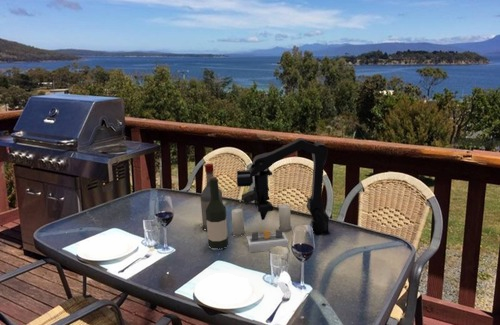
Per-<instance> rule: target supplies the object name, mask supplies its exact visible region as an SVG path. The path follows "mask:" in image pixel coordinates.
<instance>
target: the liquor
mask: <svg viewBox="0 0 500 325" xmlns="http://www.w3.org/2000/svg"><path fill="white" fill-rule="evenodd" d="M204 171H205V174H206V175H205V176H206V185H205V187H204V188H203V189H202V192H201V194H200V207H201V220H202V228H204V229H206V230H207V220H206V209H207V207H208V205H209V203H210V201H211V194H210V181H209V180H210V178H211V177H214V171H215V170H214V164H213V163H207V164H205V165H204ZM218 189H219V199H220V200H221V202H222V203H223V204H224V202H223V192H222V190H221V189H220V188H219V187H218ZM204 229H203V230H204ZM206 230H205V231H206Z"/></svg>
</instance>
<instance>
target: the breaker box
mask: <svg viewBox="0 0 500 325" xmlns="http://www.w3.org/2000/svg"><path fill="white" fill-rule="evenodd" d="M247 244H248V245H247ZM246 245H247V247H248V252H249V251H250V252H249V253H257V252H258V251H259V252H267V251H268V250H269V249H270V248H271V247H276V246H282V247H287V248H288V249H289V248H290V246H289V240H288V238H287V236H286V233H285V232H282V237H279V238H276V232H272V233H271V232H270V238H269V239H264V233H261V234H259V233H258V240H252V234H251V235H246ZM269 251H270V250H269Z"/></svg>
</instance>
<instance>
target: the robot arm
mask: <svg viewBox="0 0 500 325" xmlns="http://www.w3.org/2000/svg"><path fill="white" fill-rule="evenodd" d="M300 150H302V151H305V152H307V153H310V154H311V156H312V162H313V168H312V170H313V171H312V186H311V196H310V197H306V199H307V200H306V201H307V202H306V205H305V206H306V208H307V210H308V212H309V214H310V215H311V217H312V220H311V225H310V226H312V228H313V231H314V232H313V231H312V232H313V234H314V236H319V235H328V234H329V235H330V231H329V219H330V216H329V215H328V213H327V211H326V209H324V203H323V198H322V197H323V181H324V179H323V178H324V166H325V164H326V161H327V159H328V154H329V149H328V147H327V145H325V144H324V143H323V142H321V141H313V140H312V141H311V140H308V139H303V138H302V137H298V138H296V139H295V140H293V141H291V142H290V143H286V144H285V145H282V146H281V147H279V148H276V149H274V150H273V151H269V152H263V153H261V154H257V155H256V156H254V157H253V159H252V160H253V161H252V164H251V165H250V167H249V168H248V170H240V169H239V170H237V171H236V187H237V188H240V187H242V188H243V187H251V186H252V185H253V184H254V186H253V190H250V191H247V192H245V193H242V194H241V199H242V200H243V203H244V205H248V204H250V203H252V202H254V205H255V209H257V213H259V215H260V219H261V220H262V221H265V219H266V216H267V214H268V212H273V211H274V205H273V204H272V202H271V201H270V196H269V194H270V193H269V192H270V188H269V176H273V173H272V170H270V167H271V166H272V165H274V163H276V162H278V161H279V160H281V159H283V158H286V157H288V156H291V155H292V154H294V153H296V152H298V151H300Z"/></svg>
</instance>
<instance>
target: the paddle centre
mask: <svg viewBox="0 0 500 325" xmlns="http://www.w3.org/2000/svg"><path fill="white" fill-rule="evenodd" d="M270 233H271V231H270V229H269V230H267V229H266V230H263V234H264V239H269V238H270Z"/></svg>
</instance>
